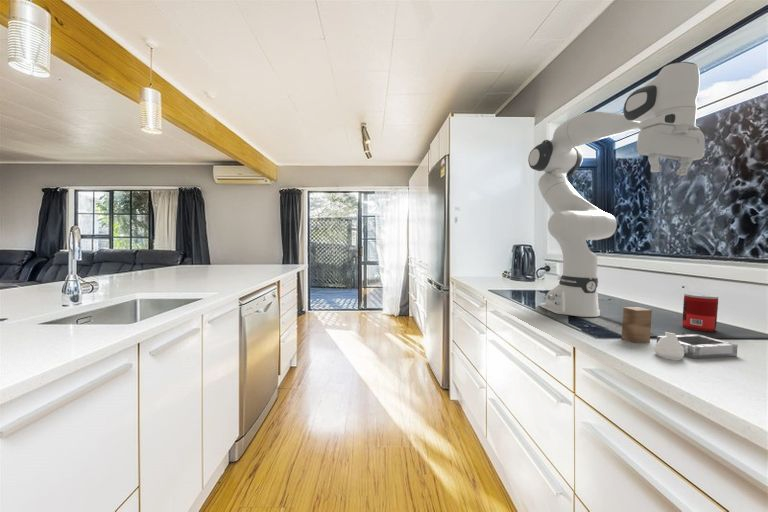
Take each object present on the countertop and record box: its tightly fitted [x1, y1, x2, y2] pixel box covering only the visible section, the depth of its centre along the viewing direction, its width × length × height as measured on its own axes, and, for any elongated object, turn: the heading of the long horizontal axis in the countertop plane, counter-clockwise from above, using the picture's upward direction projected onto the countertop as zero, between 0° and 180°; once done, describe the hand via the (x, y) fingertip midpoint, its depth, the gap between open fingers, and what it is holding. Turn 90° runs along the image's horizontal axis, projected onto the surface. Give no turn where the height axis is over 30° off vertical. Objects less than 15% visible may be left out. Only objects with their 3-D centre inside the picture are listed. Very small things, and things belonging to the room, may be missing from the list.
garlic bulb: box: [653, 331, 685, 361], centre depth 79 cm, size 6×6×5 cm
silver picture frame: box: [656, 333, 739, 360], centre depth 84 cm, size 9×13×3 cm
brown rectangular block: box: [621, 306, 653, 344], centre depth 92 cm, size 4×5×9 cm
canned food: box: [681, 292, 719, 332], centre depth 106 cm, size 8×8×11 cm
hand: (668, 173), depth 92 cm, fingers open, 8 cm apart
